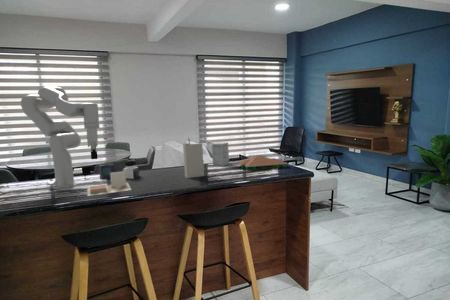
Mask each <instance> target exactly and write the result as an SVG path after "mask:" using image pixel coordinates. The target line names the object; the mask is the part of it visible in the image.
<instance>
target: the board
mask: <svg viewBox="0 0 450 300" xmlns="http://www.w3.org/2000/svg"><path fill="white" fill-rule="evenodd" d="M105 185H106V190H107V192H99V193H92V194H90V187H87V193H86V196H87V197H90V196H91V197H92V196H97V195H106V194H112V193H120V192H126V191H132V188H131V186H130V184H129V182H126V185H125V186H117V187H111V184H105Z"/></svg>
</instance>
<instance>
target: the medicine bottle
mask: <svg viewBox="0 0 450 300" xmlns="http://www.w3.org/2000/svg"><path fill="white" fill-rule="evenodd" d="M122 171H125V177H126V179H131V180H132V179H136V178H138V177H140V171H139V166H136V160H135V159H128V160H127V159H126V161H125V167H124V168H123V169H122Z"/></svg>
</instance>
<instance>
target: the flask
mask: <svg viewBox="0 0 450 300" xmlns="http://www.w3.org/2000/svg"><path fill="white" fill-rule="evenodd" d="M98 171H99V172H98V173H99V179H100V180H104V179H106V180H107V179H111V178H110V173H112V172H115V165H114V163H108V161H106V162H104V164H101V165H98Z"/></svg>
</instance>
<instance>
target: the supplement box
mask: <svg viewBox="0 0 450 300" xmlns="http://www.w3.org/2000/svg"><path fill="white" fill-rule="evenodd" d="M211 151H212V152H211V153H212V166H215V167H225V166H228V165H230V156H229V155H230V153H229V152H230V151H229V142H219V141H218V142H214V143H211Z"/></svg>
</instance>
